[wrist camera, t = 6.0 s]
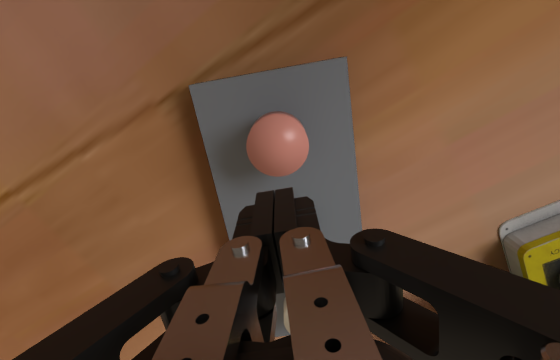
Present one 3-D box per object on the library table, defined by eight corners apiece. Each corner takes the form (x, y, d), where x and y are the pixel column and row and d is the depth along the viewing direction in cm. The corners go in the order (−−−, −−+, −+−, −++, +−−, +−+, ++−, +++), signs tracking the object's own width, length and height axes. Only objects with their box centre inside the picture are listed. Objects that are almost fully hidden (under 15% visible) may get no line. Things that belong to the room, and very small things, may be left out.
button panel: (195, 83, 26) (188, 85, 24) (341, 56, 25) (346, 56, 23) (257, 324, 35) (255, 339, 33) (365, 310, 34) (370, 324, 32)
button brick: (243, 116, 23) (240, 121, 21) (302, 106, 23) (304, 110, 21) (255, 172, 25) (253, 181, 23) (310, 162, 25) (312, 171, 23)
